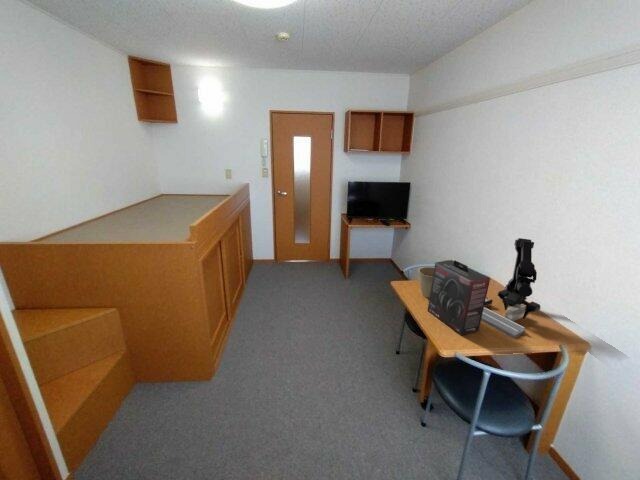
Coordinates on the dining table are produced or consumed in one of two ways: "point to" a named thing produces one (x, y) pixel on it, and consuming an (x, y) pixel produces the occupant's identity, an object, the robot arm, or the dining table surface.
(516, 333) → the rail
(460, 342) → the dining table surface
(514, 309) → the door panel
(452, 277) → the headset box
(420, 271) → the plant pot
